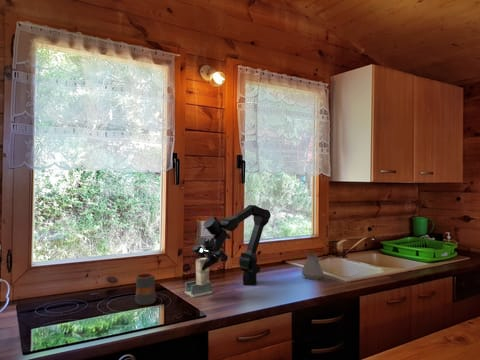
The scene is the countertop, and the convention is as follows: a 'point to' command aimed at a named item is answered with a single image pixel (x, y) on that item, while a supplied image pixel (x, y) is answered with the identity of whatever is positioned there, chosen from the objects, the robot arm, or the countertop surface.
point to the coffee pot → (313, 266)
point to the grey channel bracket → (197, 289)
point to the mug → (145, 289)
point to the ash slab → (201, 272)
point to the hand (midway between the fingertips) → (200, 269)
